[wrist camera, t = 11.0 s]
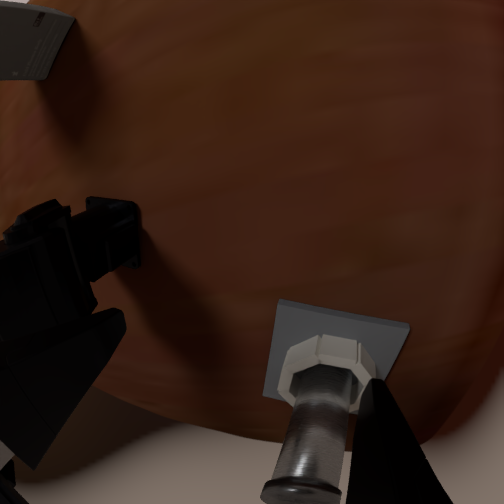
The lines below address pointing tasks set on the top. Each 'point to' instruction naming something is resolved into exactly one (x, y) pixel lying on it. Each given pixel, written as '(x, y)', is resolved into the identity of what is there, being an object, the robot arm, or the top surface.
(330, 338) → the dock
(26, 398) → the robot arm
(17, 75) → the skincare box
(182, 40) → the top surface
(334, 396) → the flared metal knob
